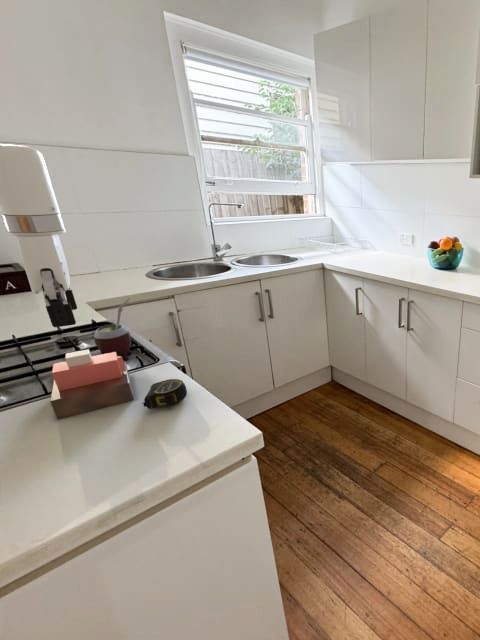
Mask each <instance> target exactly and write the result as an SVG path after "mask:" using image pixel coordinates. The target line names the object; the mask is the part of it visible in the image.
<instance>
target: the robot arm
mask: <svg viewBox="0 0 480 640" xmlns="http://www.w3.org/2000/svg"><path fill="white" fill-rule="evenodd" d="M0 218H1V221H2V223H3V226H4V229H5V232H6V235H8V236H10V237H11V236H12V237H16V242H17V247H18V250H19V255H20V258H21V261H22V264H23V268H24V270H25V274H26V276H27V277H26V278H27V281H28V283H29V287H30V290H31V292H32V293H33V294H34V295H39V294H40V292H42V294H43V299H44V303H45V309H46V312H47V314H48V318H49V320H50V323H51V326H52V327H53V328H60V327H67V326H74V325H76V324H77V322H76V318H75V315H74V312H73V311H75V310H77V309H78V305H77V301H76V298H75V296H74V292H73V289H71V287H70V285H71V275H70V271H69V266H68V262H67V259H66V255H65V251H64V248H63V245H62V241H61V238H60V236H59V235H63V234H66V233H67V230H66V227H65V223H64V220H63V217H62V213H61V210H60V207H59V203H58V200H57V198H56V194H55V190H54V188H53V185H52V181H51V177H50V173H49V170H48V168H47V165H46V162H45V159H44V156H43V154H42V153H41V152H40V151H39V150H38V149H36V148H35V147H32V146H26V145H17V144H5V143H4V144H2V143H0Z"/></svg>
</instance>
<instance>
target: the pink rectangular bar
mask: <svg viewBox="0 0 480 640" xmlns="http://www.w3.org/2000/svg"><path fill="white" fill-rule="evenodd" d="M91 354H92V353H91V351H90V349H89V348H88V349H83V350H82V349H81V350H76V351H71V352H67V353H65V357H64V360H65V361H60V362H55V363H53V365H52V370H51V374H52V377H53V381H54V380H55V382H56V385H57V387H58V390H59V391H62V390H66V389H71V388H75V387H80V386H84V385H89V384H93V383H97V382H102V381H106V380H111V379H115V378H120V377H122V372H123V371H125V370H126V368H125V365H124V362H123V361H124V360H123V359H122V356H117V354H116V352H112V353H107V354H101V353H100V354H97V355H91Z"/></svg>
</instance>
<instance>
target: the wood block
mask: <svg viewBox="0 0 480 640" xmlns="http://www.w3.org/2000/svg"><path fill="white" fill-rule="evenodd" d="M123 362H124V365H125V368H126V370H125V371H123V372H122V377H120V378H115V379H111V380H106V381H102V382H97V383H93V384H89V385H84V386H80V387H75V388H71V389H66V390H62V391H59V390H58V387H57V385H56V382H55V380H54V379H53V384H52V389H51V394H50V400H49V403H50V405H51V408H52V410H53V412H54V414H55V416H56V419H57V420H59V419H63V418H68V417H71V416H75V415H78V414H83V413H87V412H91V411H94V410H99V409H101V408H102V409H103V408H107V407H110V406H115V405H117V404H118V405H119V404H122V403H126V402H130V401H134V400H135V397H134V391H133V387H132V380H131V376H130V372H129V369H128V366H127V362H126V360H123Z"/></svg>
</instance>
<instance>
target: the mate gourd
mask: <svg viewBox="0 0 480 640" xmlns="http://www.w3.org/2000/svg"><path fill="white" fill-rule="evenodd" d="M130 300H131V298H130V297H129V298H128V299H126V300H125V301H123V302H122V303H121V304H120V305H119V306H118V308H117V316H116V324H108V325H104V326H103V325H102V326H100V327H99V328H97V329H96V330H95V332H94V334H93V339H94V344H95V345H96V347H97V349H98V350H99V352H100V355H101V354H107V353H112V352H116V354H117V356H122V359H123V361H129V359H130V358H129V357H128V356H129V355H131V354H133V352H132V350H131V349H130V348H131V345H132V336H131V333H130V331H129V329H128V328H126V327H125V326H124V325H122V324H120V321H121V316H122V312H123V308H124V306H125V305H126V304H127V303H128V302H129V301H130Z"/></svg>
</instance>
